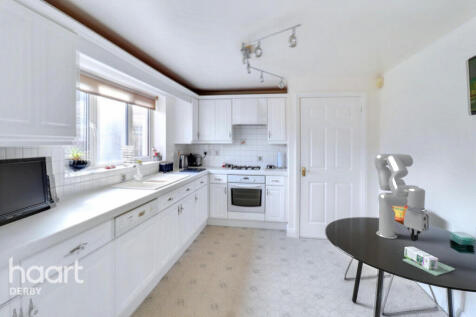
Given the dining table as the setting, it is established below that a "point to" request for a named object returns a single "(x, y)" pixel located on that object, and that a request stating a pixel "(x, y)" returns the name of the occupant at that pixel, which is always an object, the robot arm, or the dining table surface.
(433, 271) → the mat
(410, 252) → the syrup box
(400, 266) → the dining table surface
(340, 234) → the dining table surface
